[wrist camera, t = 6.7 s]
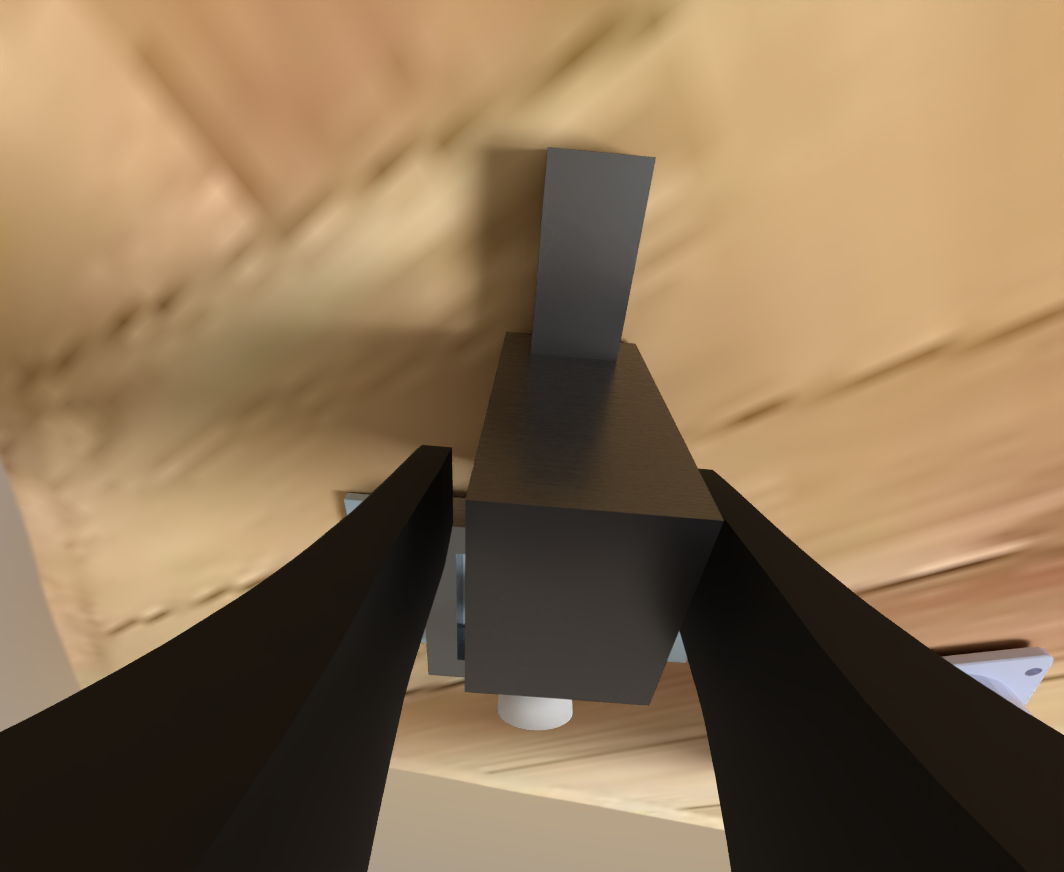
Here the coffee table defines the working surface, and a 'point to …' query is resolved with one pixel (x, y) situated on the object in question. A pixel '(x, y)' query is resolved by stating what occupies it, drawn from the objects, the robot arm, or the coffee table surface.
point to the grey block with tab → (575, 476)
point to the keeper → (523, 708)
